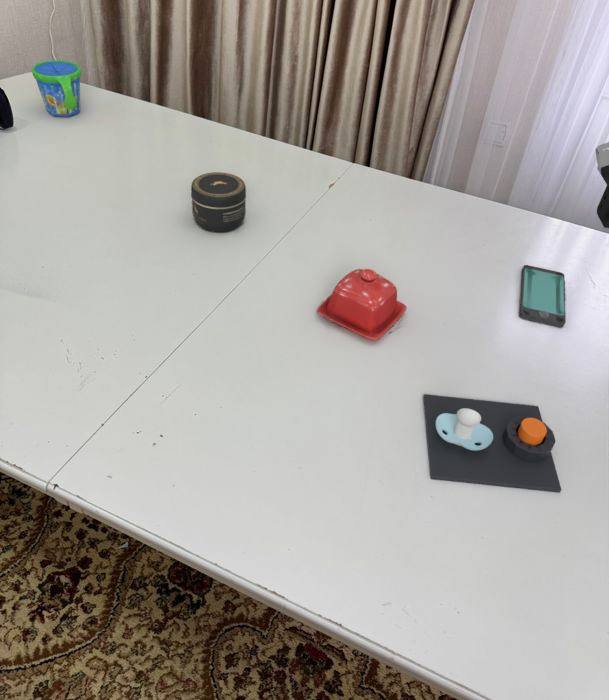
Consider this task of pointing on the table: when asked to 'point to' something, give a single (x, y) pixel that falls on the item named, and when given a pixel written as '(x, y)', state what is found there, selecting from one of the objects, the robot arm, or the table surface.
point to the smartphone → (542, 296)
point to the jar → (218, 201)
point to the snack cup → (59, 86)
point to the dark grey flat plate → (491, 447)
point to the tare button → (532, 431)
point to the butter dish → (363, 304)
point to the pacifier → (464, 429)
